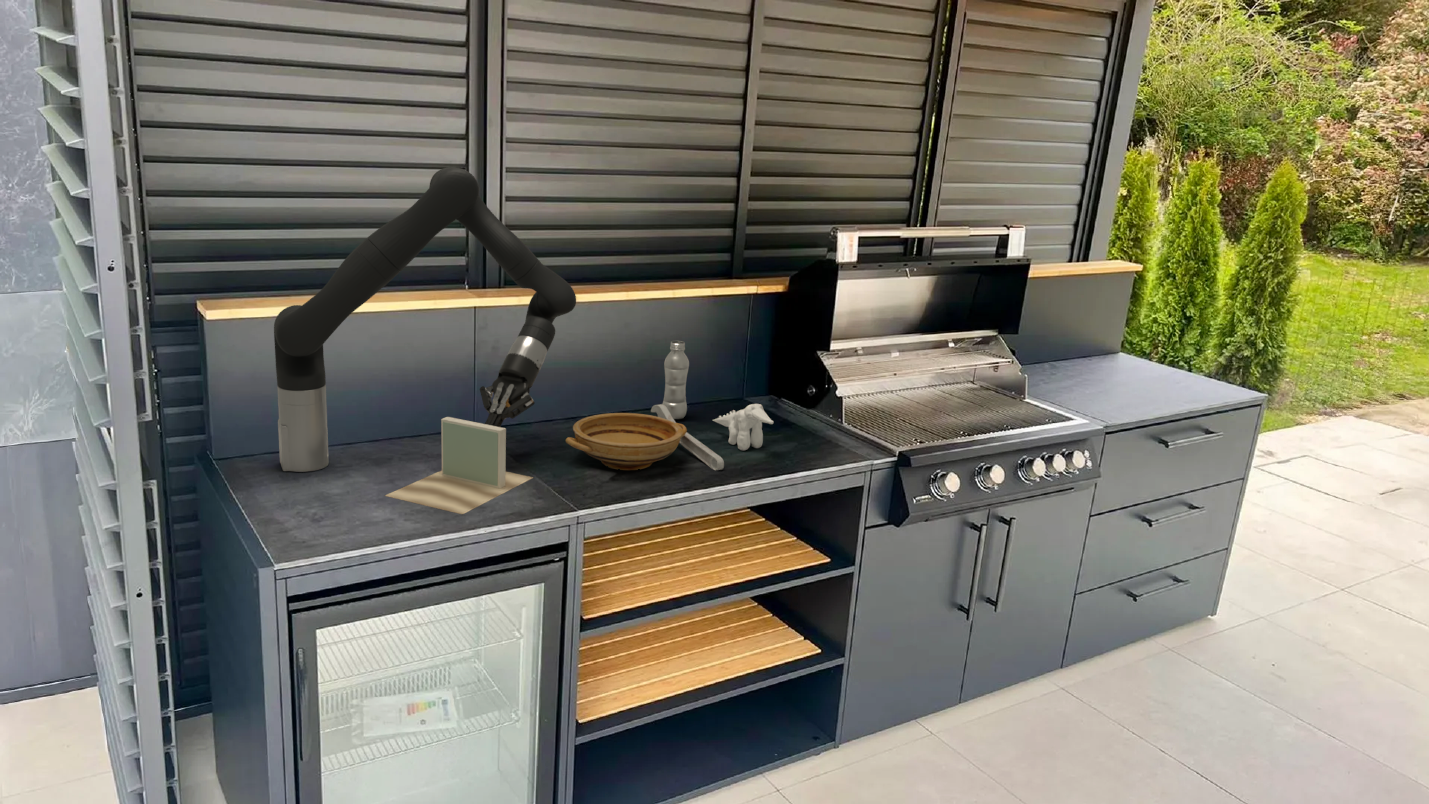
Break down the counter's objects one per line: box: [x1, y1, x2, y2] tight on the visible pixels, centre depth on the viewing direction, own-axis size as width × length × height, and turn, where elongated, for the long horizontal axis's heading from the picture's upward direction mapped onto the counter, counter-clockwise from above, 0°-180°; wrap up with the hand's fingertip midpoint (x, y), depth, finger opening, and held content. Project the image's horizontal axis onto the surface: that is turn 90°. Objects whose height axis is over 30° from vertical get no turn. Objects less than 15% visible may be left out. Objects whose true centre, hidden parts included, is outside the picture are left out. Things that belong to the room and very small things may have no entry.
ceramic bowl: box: [565, 412, 688, 471], centre depth 232 cm, size 30×24×8 cm
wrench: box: [650, 403, 725, 472], centre depth 242 cm, size 8×2×30 cm
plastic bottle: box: [662, 340, 690, 420], centre depth 266 cm, size 6×7×20 cm
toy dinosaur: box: [712, 403, 774, 451], centre depth 250 cm, size 7×24×11 cm, turn 35°
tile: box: [440, 416, 507, 489], centre depth 210 cm, size 14×2×12 cm, turn 67°
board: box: [384, 469, 534, 515], centre depth 208 cm, size 24×18×2 cm
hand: (489, 431), depth 214 cm, fingers closed
